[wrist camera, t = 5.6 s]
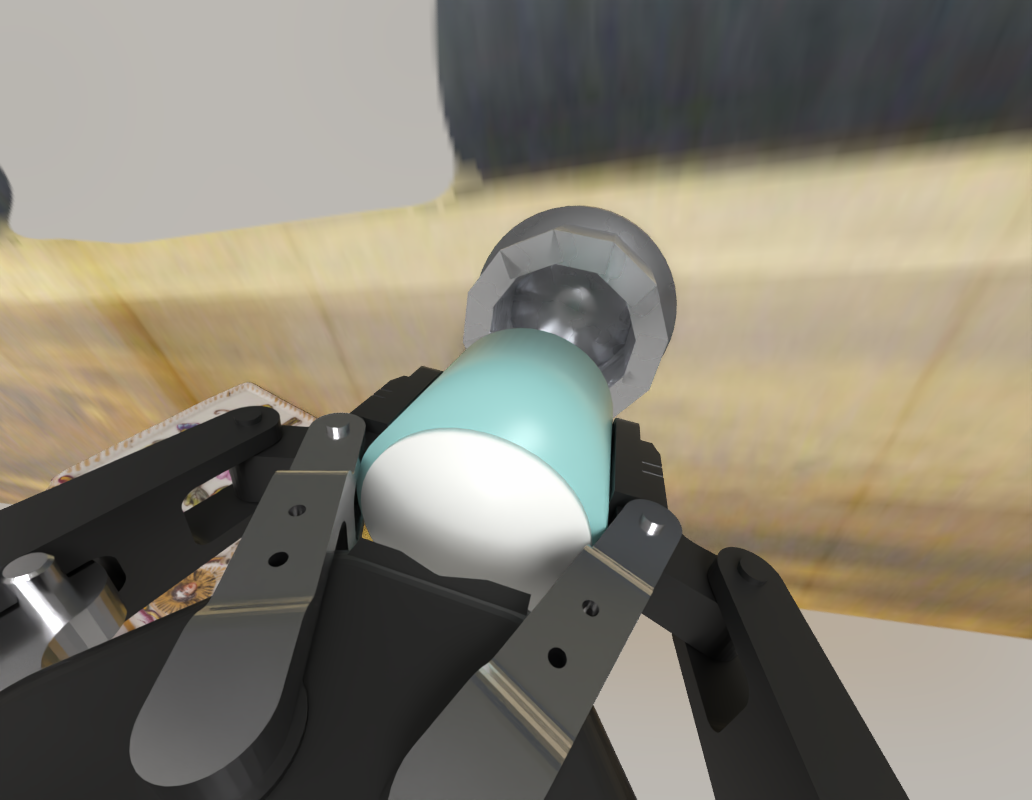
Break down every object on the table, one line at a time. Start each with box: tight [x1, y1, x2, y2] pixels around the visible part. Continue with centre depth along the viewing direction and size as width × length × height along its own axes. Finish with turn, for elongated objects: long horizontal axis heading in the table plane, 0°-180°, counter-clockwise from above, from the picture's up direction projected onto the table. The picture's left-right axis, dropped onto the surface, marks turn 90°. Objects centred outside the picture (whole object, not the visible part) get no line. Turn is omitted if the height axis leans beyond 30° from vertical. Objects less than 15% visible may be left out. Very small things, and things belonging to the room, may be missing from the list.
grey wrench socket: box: [463, 206, 677, 418], centre depth 22 cm, size 12×12×5 cm
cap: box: [357, 328, 613, 612], centre depth 11 cm, size 6×6×6 cm
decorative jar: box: [47, 382, 317, 639], centre depth 29 cm, size 12×12×18 cm
